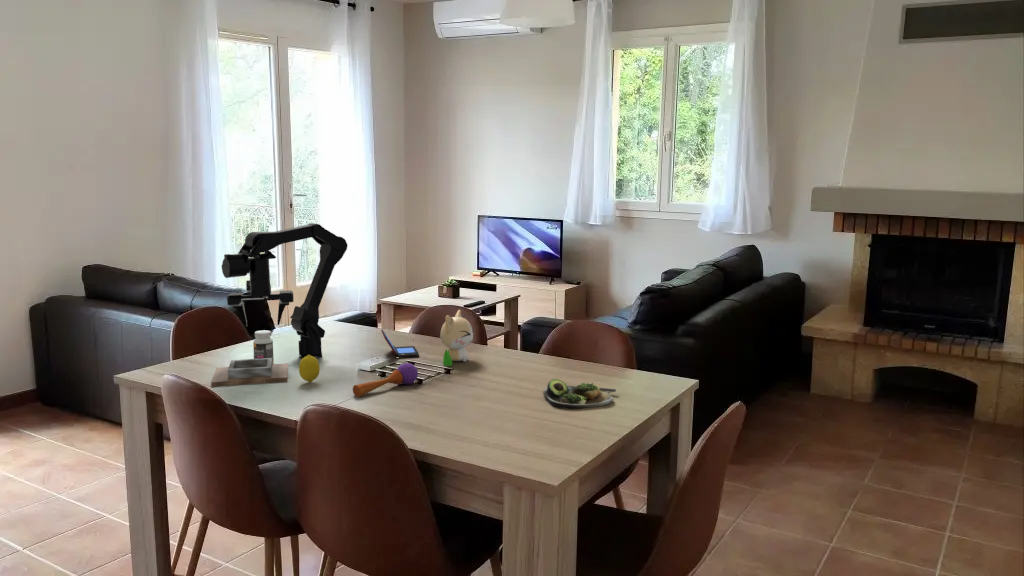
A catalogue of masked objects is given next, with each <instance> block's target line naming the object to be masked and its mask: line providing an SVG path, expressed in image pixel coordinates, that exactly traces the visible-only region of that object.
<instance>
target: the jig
mask: <svg viewBox="0 0 1024 576" xmlns="http://www.w3.org/2000/svg"><path fill="white" fill-rule="evenodd" d="M288 375H289V363H273V364H272V358H261V359H254V358H249V359H248V358H246V359H245V358H244V359H231V360H230V362H229V366H222V367H221V366H219V367H216V368H215V370H214V373H213V376H212V379H211V381H210V386H211V387H223V386H226V387H227V386H239V385H240V386H241V385H252V384H253V385H255V384H268V383H269V384H270V383H282V382H283V383H284V382H288V377H289V376H288Z"/></svg>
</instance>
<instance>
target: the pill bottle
mask: <svg viewBox="0 0 1024 576" xmlns="http://www.w3.org/2000/svg"><path fill="white" fill-rule="evenodd" d="M271 336H272V331H271V330H265V329H263V330H256V331H255V332H254V337H255V339H254V340H253V343H252V344H253V359H261V358H272V364H274V361H275V360H274V340H273V339H272V338H271Z"/></svg>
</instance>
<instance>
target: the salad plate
mask: <svg viewBox="0 0 1024 576" xmlns="http://www.w3.org/2000/svg"><path fill="white" fill-rule="evenodd" d="M599 386H600V384H597V385H594V383H585V382H581V384H578V385H567V384H566V383H565V382H564V381H562V380H560V379H559V378H553V379H551V380H549V381H548V384H547V385H546V387H547V388H544V390H543V392H542V394H543V397H544V399H545V400H546V401H547V403H548V404H550V406H553V407H556V408H557V409H558V408H559V409H566V410H571V409H572V410H578V409H589V408H596V407H601V406H607V405H609V404H610V403H611V402H613V401H614V398H613V396H612V395H610V393H615V392H616V391H617V389H616V388H608V387H599ZM591 401H599V402H595V403H587V402H591Z"/></svg>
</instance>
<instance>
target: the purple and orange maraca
mask: <svg viewBox="0 0 1024 576" xmlns="http://www.w3.org/2000/svg"><path fill="white" fill-rule="evenodd" d="M418 375H419V371H418V369H417V367H416V366H415V365H414V364H413V363H408V362H405V363H402V364H400V365H398V367H397V369H394V370H393V371H392V372H391V373H390V375H389V376H388V377H387V378H383V379H378V380H373V381H369V382H365V383H364V382H363V383H359V384H355V385H353V386H352V393H353V395H354V396H355V397H357V398H361V397H363V396H364V395H366V394H369V393H370V392H372V391H374V390H376V389H378V388H380V387H382V386H384V385H386V384H393V385H404V386H405V385H406V386H407V385H412V384H414V383H416V380H418Z"/></svg>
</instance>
